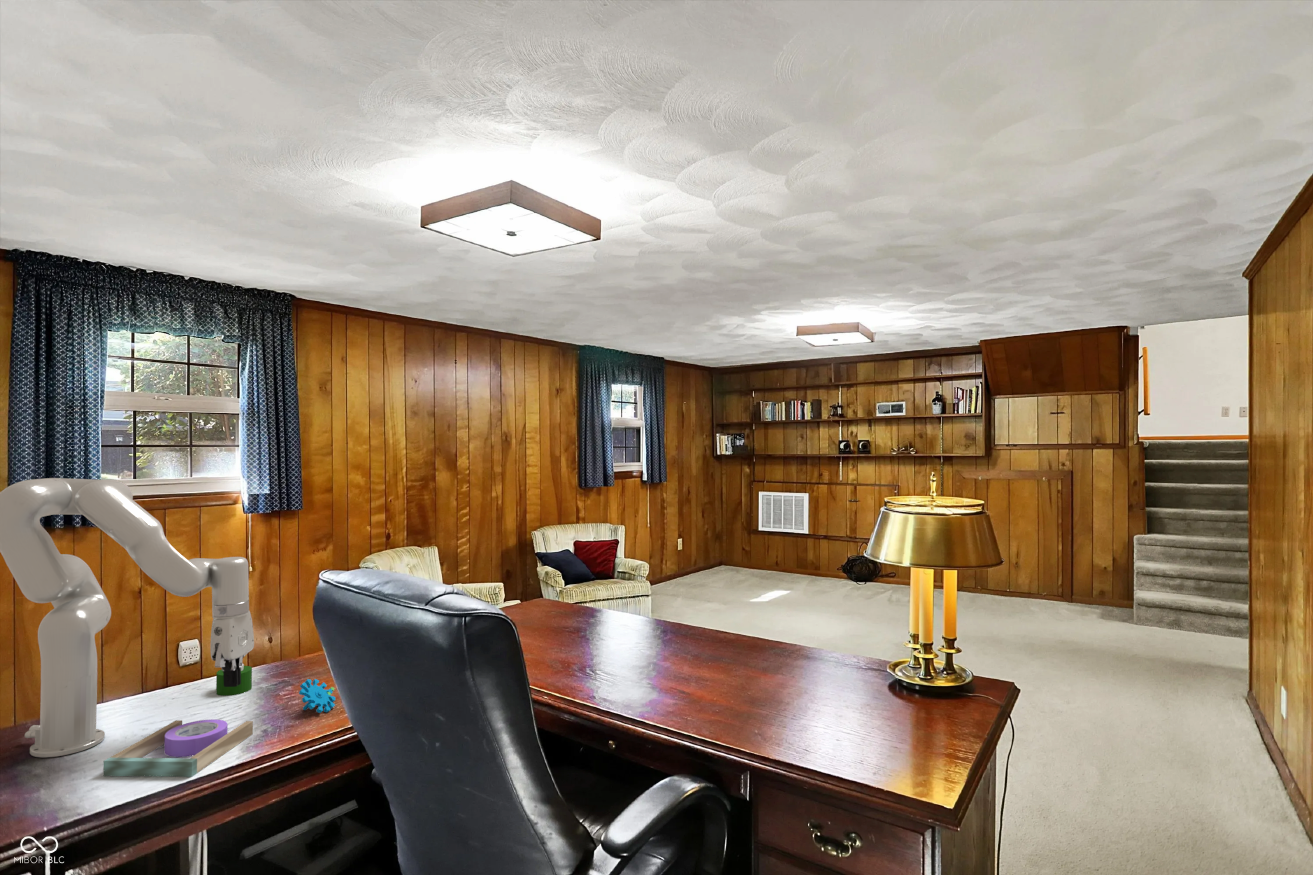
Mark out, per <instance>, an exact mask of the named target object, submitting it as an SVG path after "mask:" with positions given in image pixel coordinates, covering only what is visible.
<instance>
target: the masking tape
mask: <svg viewBox="0 0 1313 875" xmlns="http://www.w3.org/2000/svg"><path fill="white" fill-rule="evenodd" d="M226 734H228V721H225V720H224V719H223V720H222V719H213V718H212V719H202V720H195V721H191V722H190V721H189V722H186V723H182V725H180V726H177V727H175V728H173V729H171V730H169V731H168V732H167V733H166V734H165V744H163V745H164V750H163V751H164V755H166V756H167V757H171V758H185V757H186V758H188V757H193V756H192V755H196V754H197V753H199V752H200V751H202V750H203V749H205V748H206V747H208V746H209V745H211V744H212V743H214V742H215V741H217V740H219V739H220V738H222V737H223V736H225V735H226ZM187 756H188V757H187Z"/></svg>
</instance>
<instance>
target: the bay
mask: <svg viewBox="0 0 1313 875" xmlns="http://www.w3.org/2000/svg"><path fill="white" fill-rule="evenodd" d="M180 725H183V720H182V719H181V720H180V719H179V720H178V719H177V720H174V721H172V722H171V723H169V724H167V725H165V726H164V727H161V728H159V729H158V730H156V731H154V732H152V733H151V734H149V735H147V736H146V737H144V738H142V739H140V740H138V741H136V742H135V743H133V744H131V745H130V746H127V747H126V748H124V749H122V750H120V751H118V752H117V753H115V754H113V755H112V756H110V757H109V758H107V759H105V760H103V770H102V771H103V772H102V773H103V775H102V776H104V777H175V778H176V777H177V778H178V777H179V778H181V777H182V778H191V777H194V776H196V774H199V773H200V772H201V771H202V770H203V768H204V769H205V768H207V767H208V766H209V765H211V764H212V763H214V762H215V761H217V760H219V758H220V757H222V756H224V755H225V754H226V753H228V752H229V751H231V750H232V749H234V748H235V747H236V746H238V745H239V744H241V743H242V742H243V741H245V740H246V739H248V738H249V737H251V736H252V735H253V733H254V729H253V727H254V720H252V721H251V720H246V721H245V722H243V723H241V724H240V725H238V726H237V727H235V728H233V729H232V730H230V731H228V732H227V734H226V735H225V736H223V737H222V738H220V739H219V740H217V741H215V742H214V743H212V744H211V745H209V746H208V747H206V748H205V749H203V750H202V751H200V752H199V753H197V754H196V755H194V756H190V757H189V758H188V757H186V758H185V757H171V758H170V757H169V758H168V757H145V756H147V755H148V754H151V753H152V752H153V751H156V750H157V749H158V748H160V747H162V746H163V745H165V734H166V733H167V732H168V731H169V730H171V729H173V728H175V727H177V726H180ZM211 762H212V763H211ZM210 763H211V764H210ZM200 770H201V771H200Z"/></svg>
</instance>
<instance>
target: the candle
mask: <svg viewBox="0 0 1313 875" xmlns="http://www.w3.org/2000/svg"><path fill="white" fill-rule="evenodd" d="M239 668H241V684H240V685H238V686H236V687H224V676H223V671H222V668H221V669H220V670H218V671H216V679H215V680H216V681H215V682H216V684H215V694H216V695H217V696H221V697H231V696H237V695H241V694H245V693H247V692H249V691H251V690H252V688H253V687H252V686H253V684H252V683H253V681H252V680H253V667H252V666H250V665H245V664H244V663H242V666H241V667H239ZM244 692H245V693H244Z"/></svg>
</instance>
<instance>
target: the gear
mask: <svg viewBox="0 0 1313 875" xmlns="http://www.w3.org/2000/svg"><path fill="white" fill-rule="evenodd" d="M319 682H320V680H319V679H317V678H315V679H313V681H312V679H309V678H307V679H306V680H305V681H304V682H303V683H301V684H300V685H299V687H300V690H299V691H298V694H299V695H300V696H303V697H302V698H301V701H302V703H303V704H304V703H305V705H304V706H303V707H302V710H303V711H306V710H313V709H314V708H315V707H316V706H318V707H317V708H316V709H315V711H316V712H317V713H319V714H321V713H322V712H324V713H329V712H330V711H331V709H333V708H334V707H335V706H336V704H335V703H334V702H335V701H336V696H333V695H332V694H333V692H334V691H335V687H333V686H330V688H329V689H325V688H326V687H327V683H326V682H322V683H321V684H320V685H318V684H319ZM323 707H324V708H323Z"/></svg>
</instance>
